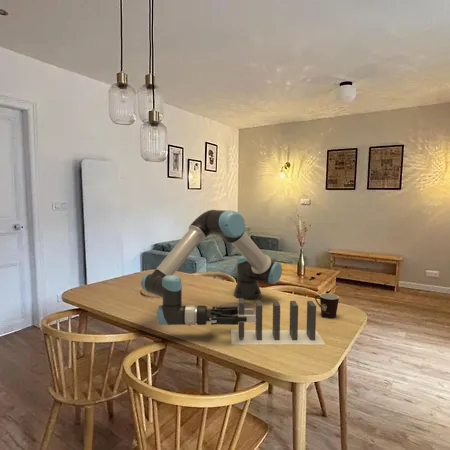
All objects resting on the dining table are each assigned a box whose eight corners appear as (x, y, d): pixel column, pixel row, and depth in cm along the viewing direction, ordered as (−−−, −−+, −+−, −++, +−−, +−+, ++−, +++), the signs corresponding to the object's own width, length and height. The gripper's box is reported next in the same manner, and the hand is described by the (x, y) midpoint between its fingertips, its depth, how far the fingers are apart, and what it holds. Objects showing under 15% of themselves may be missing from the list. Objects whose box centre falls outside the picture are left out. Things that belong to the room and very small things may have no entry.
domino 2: (256, 340, 128) (257, 305, 127) (255, 333, 134) (255, 300, 133) (261, 340, 128) (262, 305, 127) (260, 333, 134) (260, 300, 133)
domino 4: (292, 340, 128) (293, 305, 127) (289, 333, 134) (290, 300, 133) (297, 340, 128) (298, 305, 127) (294, 333, 134) (295, 300, 133)
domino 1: (239, 337, 128) (239, 303, 127) (238, 331, 134) (238, 298, 133) (244, 337, 128) (244, 303, 127) (243, 331, 134) (243, 298, 133)
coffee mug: (341, 319, 150) (342, 298, 149) (324, 321, 149) (324, 299, 148) (329, 310, 162) (330, 291, 161) (313, 311, 160) (313, 292, 159)
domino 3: (274, 340, 128) (275, 305, 127) (272, 333, 134) (273, 300, 133) (279, 340, 128) (280, 305, 127) (277, 333, 134) (277, 300, 133)
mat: (231, 331, 138) (231, 329, 138) (316, 331, 138) (316, 330, 138) (231, 345, 125) (231, 344, 125) (325, 345, 125) (325, 344, 125)
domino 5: (310, 340, 128) (311, 305, 127) (306, 333, 134) (307, 300, 133) (315, 340, 128) (316, 305, 127) (311, 333, 134) (312, 300, 133)
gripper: (198, 315, 140) (252, 315, 140) (194, 334, 122) (256, 334, 121) (198, 298, 140) (252, 298, 140) (194, 314, 121) (256, 315, 121)
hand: (254, 315), depth 131 cm, fingers closed on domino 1, 6 cm apart
